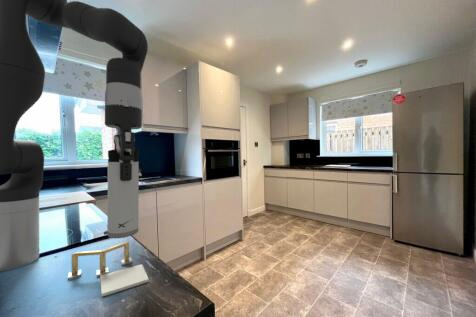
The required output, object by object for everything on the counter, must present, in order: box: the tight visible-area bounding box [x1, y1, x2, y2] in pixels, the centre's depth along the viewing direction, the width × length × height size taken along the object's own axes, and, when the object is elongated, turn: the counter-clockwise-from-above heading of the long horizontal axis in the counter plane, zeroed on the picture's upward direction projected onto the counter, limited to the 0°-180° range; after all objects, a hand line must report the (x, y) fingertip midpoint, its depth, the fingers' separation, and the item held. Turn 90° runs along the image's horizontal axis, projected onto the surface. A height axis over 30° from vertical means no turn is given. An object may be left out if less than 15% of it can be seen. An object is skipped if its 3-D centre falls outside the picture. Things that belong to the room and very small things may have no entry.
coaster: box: [99, 263, 150, 298], centre depth 48 cm, size 9×8×1 cm
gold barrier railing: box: [67, 241, 133, 281], centre depth 51 cm, size 13×5×6 cm, turn 125°
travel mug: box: [107, 146, 140, 239], centre depth 48 cm, size 6×7×20 cm
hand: (123, 179), depth 48 cm, fingers closed on travel mug, 6 cm apart
